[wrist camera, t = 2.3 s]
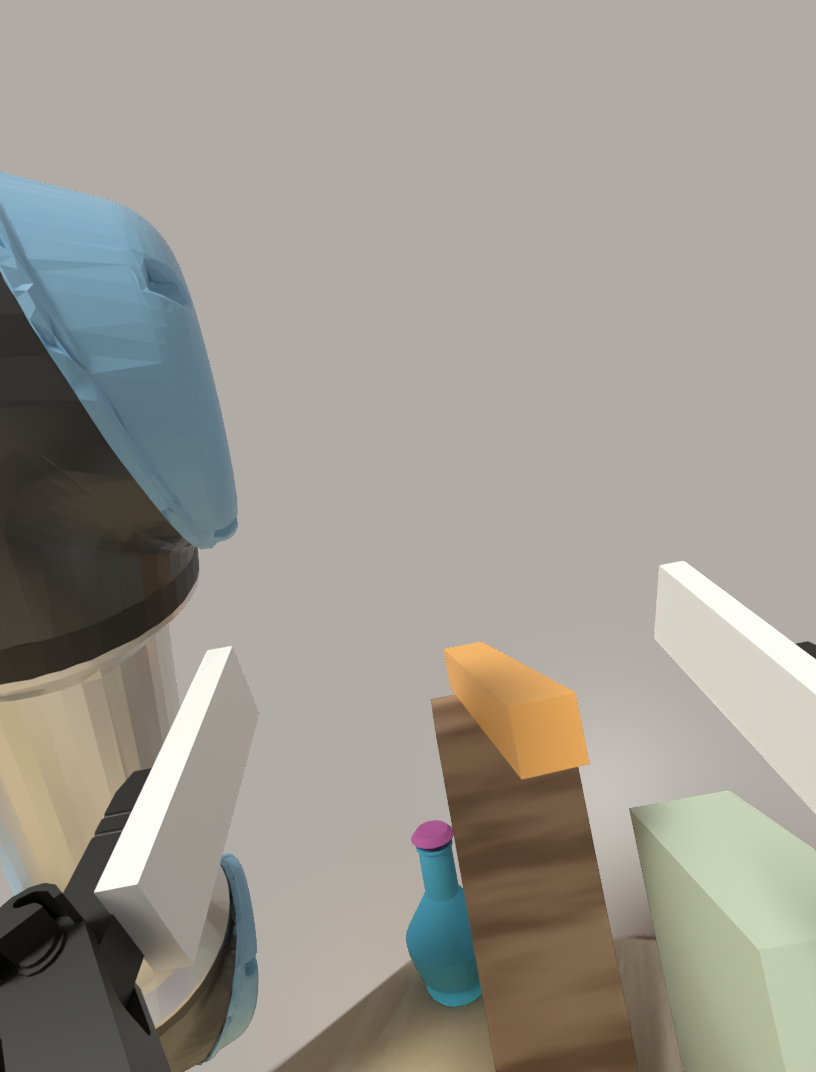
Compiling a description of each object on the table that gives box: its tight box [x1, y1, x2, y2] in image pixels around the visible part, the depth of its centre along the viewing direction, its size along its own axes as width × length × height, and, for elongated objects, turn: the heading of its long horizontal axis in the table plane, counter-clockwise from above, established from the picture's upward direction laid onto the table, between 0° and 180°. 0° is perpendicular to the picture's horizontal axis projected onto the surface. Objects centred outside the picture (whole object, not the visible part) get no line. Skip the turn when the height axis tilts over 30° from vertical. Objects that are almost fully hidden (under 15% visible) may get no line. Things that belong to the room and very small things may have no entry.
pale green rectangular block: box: [629, 790, 816, 1072], centre depth 30 cm, size 14×8×21 cm, turn 179°
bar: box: [444, 642, 590, 780], centre depth 37 cm, size 22×4×4 cm, turn 5°
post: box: [431, 695, 639, 1072], centre depth 39 cm, size 10×10×30 cm
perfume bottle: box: [406, 820, 482, 1007], centre depth 50 cm, size 9×9×15 cm
